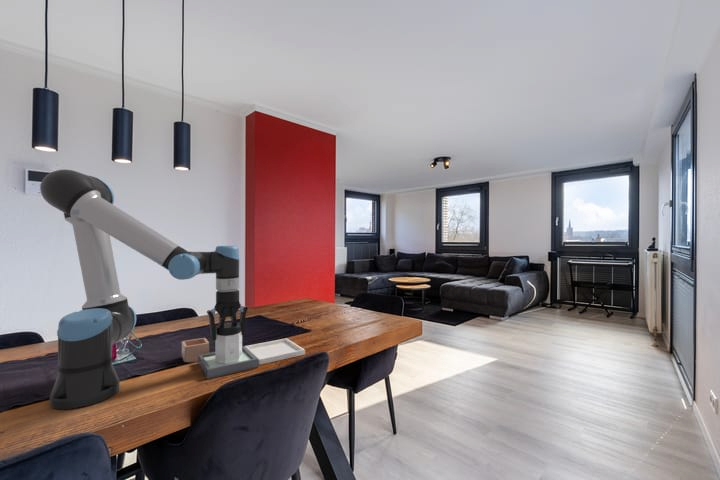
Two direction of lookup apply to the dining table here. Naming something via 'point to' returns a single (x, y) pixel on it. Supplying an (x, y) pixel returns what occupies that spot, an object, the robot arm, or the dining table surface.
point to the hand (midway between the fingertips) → (228, 357)
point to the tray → (275, 350)
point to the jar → (228, 343)
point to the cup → (194, 349)
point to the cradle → (227, 368)
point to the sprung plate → (212, 363)
